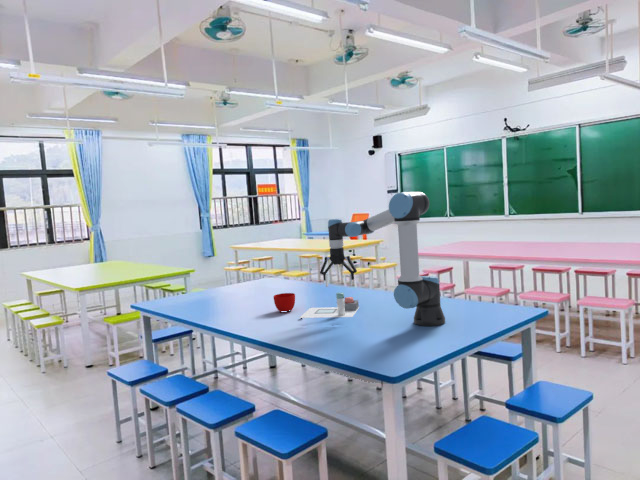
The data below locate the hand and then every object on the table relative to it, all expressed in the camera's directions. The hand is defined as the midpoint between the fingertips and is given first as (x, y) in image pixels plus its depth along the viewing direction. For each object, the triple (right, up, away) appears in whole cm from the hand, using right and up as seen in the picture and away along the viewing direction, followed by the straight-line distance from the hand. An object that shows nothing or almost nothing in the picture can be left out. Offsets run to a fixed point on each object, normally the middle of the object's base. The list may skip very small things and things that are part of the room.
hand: (339, 286), depth 252 cm
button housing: (+7, -15, +14) cm, 21 cm away
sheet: (-5, -17, +10) cm, 20 cm away
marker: (+1, -16, +1) cm, 16 cm away
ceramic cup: (-31, -18, +28) cm, 45 cm away
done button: (+7, -13, +14) cm, 20 cm away
